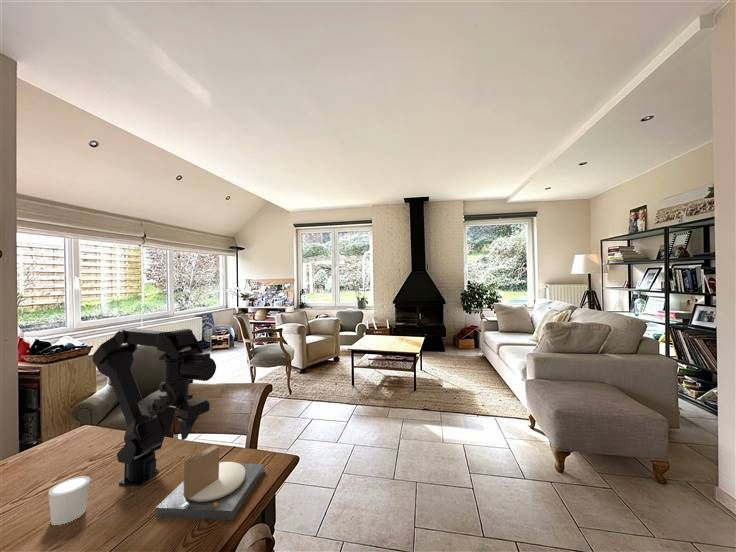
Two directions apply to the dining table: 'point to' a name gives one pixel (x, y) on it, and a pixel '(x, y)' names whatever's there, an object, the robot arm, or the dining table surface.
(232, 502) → the dial plate
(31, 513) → the dining table surface
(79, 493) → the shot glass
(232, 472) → the dial
